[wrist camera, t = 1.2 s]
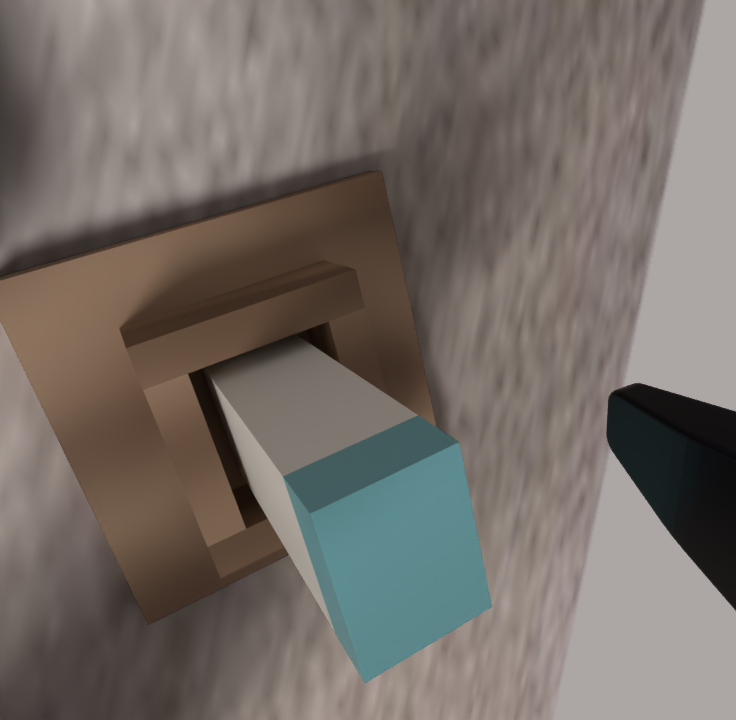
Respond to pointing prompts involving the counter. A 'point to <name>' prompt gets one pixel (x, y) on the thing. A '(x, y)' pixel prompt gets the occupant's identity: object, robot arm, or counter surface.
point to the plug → (355, 498)
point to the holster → (198, 350)
